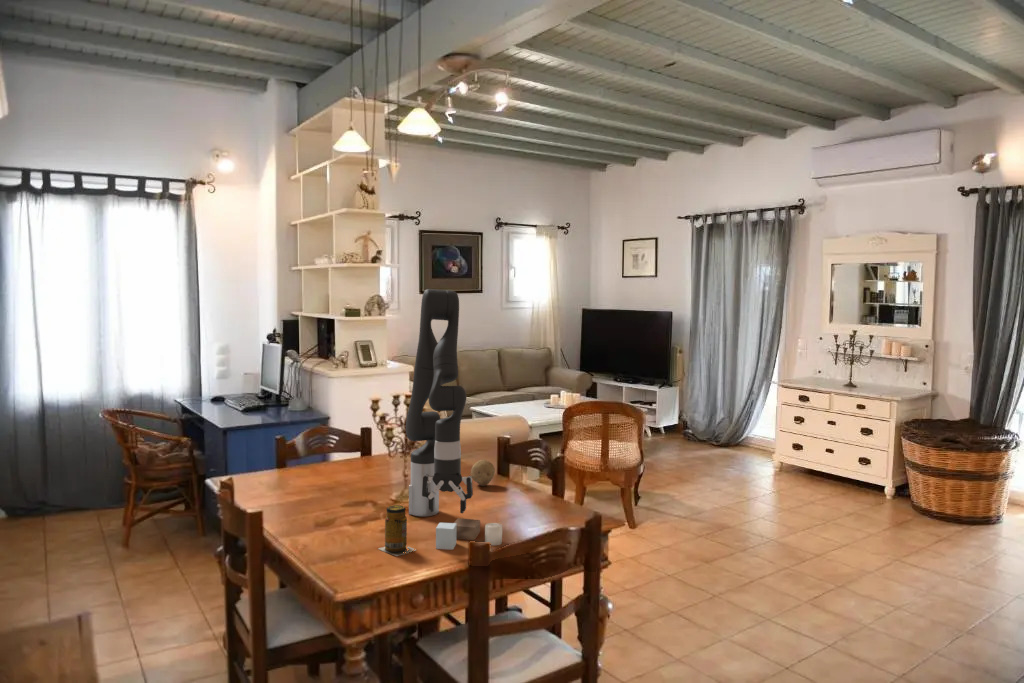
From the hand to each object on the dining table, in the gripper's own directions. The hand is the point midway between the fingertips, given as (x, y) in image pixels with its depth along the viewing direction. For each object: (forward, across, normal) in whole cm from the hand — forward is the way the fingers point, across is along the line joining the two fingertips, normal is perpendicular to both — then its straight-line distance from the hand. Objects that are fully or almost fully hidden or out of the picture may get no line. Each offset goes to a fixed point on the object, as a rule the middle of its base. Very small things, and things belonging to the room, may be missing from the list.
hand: (447, 511), depth 211 cm
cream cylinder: (+10, +13, +5) cm, 17 cm away
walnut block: (+10, +4, +10) cm, 15 cm away
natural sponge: (+9, +1, +63) cm, 64 cm away
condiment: (+10, -13, -5) cm, 18 cm away
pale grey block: (+10, 0, 0) cm, 10 cm away
